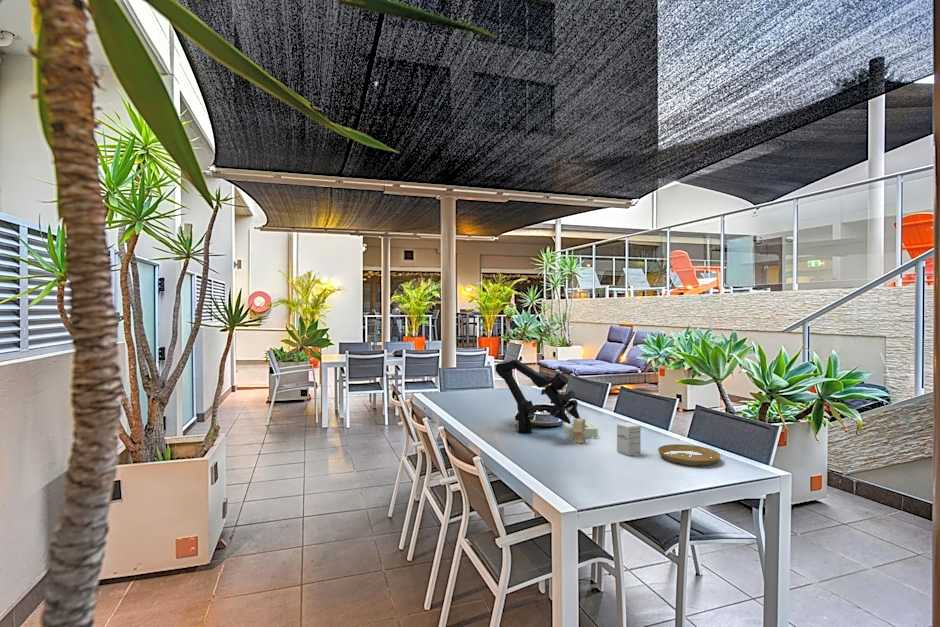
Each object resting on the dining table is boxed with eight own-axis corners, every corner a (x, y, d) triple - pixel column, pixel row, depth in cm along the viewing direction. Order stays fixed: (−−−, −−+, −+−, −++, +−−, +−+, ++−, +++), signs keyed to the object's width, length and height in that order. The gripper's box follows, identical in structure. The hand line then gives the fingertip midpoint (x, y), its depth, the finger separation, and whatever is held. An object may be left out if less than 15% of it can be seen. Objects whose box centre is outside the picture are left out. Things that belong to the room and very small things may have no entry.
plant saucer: (656, 449, 221) (656, 441, 221) (715, 453, 214) (715, 446, 214) (660, 465, 198) (660, 457, 198) (725, 471, 191) (725, 462, 191)
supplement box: (616, 451, 217) (616, 423, 217) (629, 449, 220) (629, 421, 220) (628, 456, 210) (628, 427, 210) (641, 453, 213) (641, 425, 213)
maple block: (581, 444, 229) (581, 420, 229) (573, 442, 232) (573, 419, 232) (585, 442, 232) (585, 419, 232) (577, 440, 235) (577, 418, 235)
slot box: (569, 438, 239) (569, 429, 239) (562, 431, 253) (562, 422, 253) (597, 437, 240) (597, 428, 240) (589, 430, 254) (589, 422, 254)
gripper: (554, 388, 230) (575, 414, 223) (574, 383, 244) (594, 408, 237) (540, 402, 235) (561, 429, 228) (560, 397, 249) (580, 422, 242)
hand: (575, 421), depth 234 cm, fingers open, 9 cm apart
